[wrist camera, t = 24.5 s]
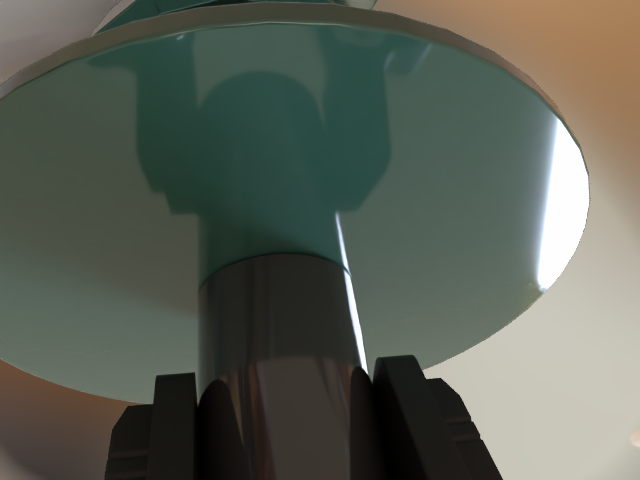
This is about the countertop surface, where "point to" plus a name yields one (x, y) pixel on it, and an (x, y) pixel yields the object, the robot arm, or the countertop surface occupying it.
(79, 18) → the countertop surface
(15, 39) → the countertop surface
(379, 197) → the pot lid
